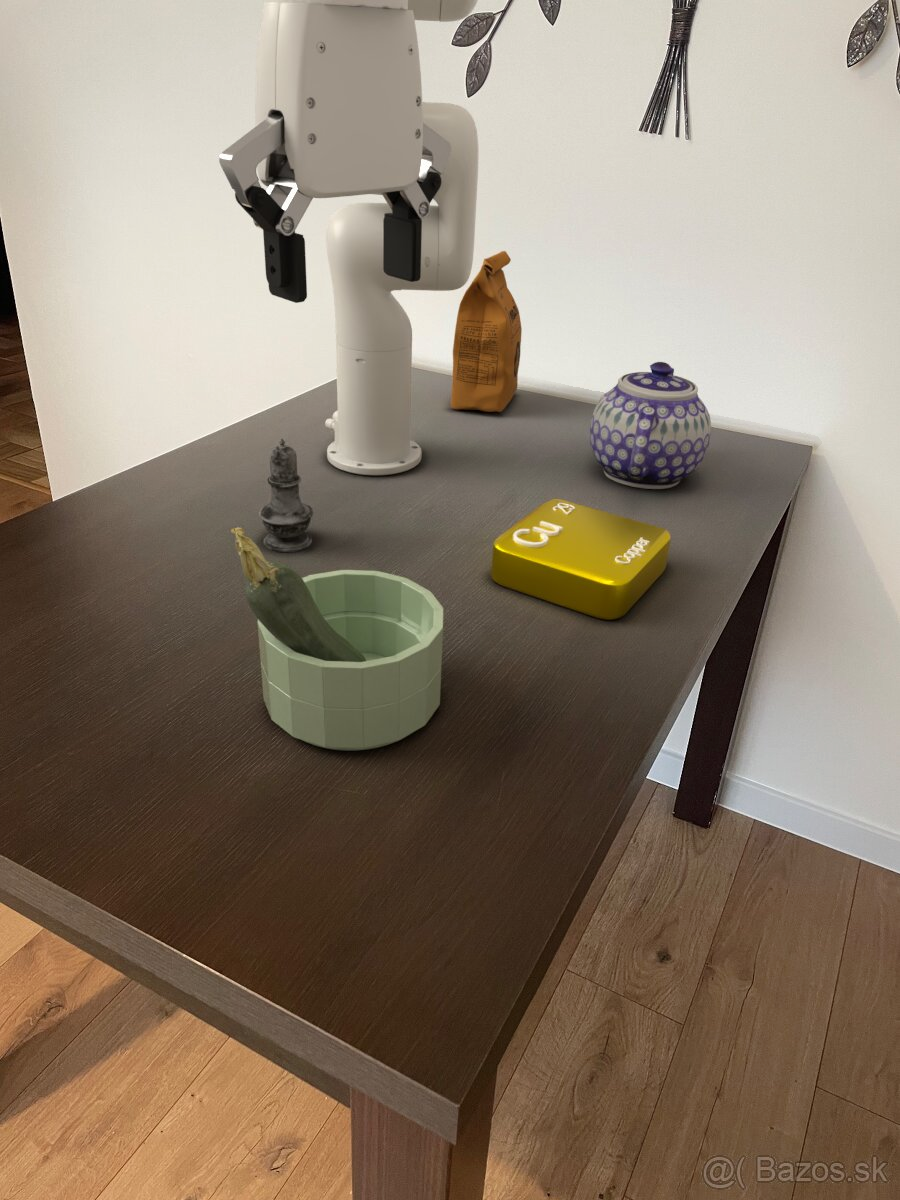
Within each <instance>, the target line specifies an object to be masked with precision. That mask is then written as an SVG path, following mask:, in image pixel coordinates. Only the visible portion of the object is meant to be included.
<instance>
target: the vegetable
mask: <svg viewBox="0 0 900 1200" xmlns="http://www.w3.org/2000/svg"><path fill="white" fill-rule="evenodd" d="M230 532H231V533H232V534H234V536H235V537H234V539H235V542H234V543H235V544H234V545H235V546H234V549H235V551H237V555H238V556H240V565H241V568H242V570H243V573H244V576H245V578H246V580H245V583H244V594H245V598H246V602H247V603H248V606H249V608H250V610H251V612H252V614H254V616H255V618H256V619H257V621H258V620H259V621H260V622H261V623H262V624H263V625H264V627H265V628H266V629H267V630H268V631H269V632H270V633H271V634H272V635H273V636H274V637H276V638H277V639H278V640H279V641H280V642H282V643H283V644H285V645H286V646H288V647H289V648H290V649H292V650H293V651H295V652H297V653H300V654H304V655H307V656H311V657H314V658H318V659H321V660H325V661H345V662H364V661H366V659H365V657H364V656H363V655H362V654H361V653H360V652H359V651H358V650H357V649H355V648H354V647H353V646H352V645H351V644H350V643H349V642H348V641H347V640H346V639H344V638H343V637H342V636H340V635H339V634H338V633H337V632H336V631H335V630H334V629H333V628H332V627H331V626H330V625H329V624H328V623H327V621H326V620H325V619H324V617H323V616H322V615H321V613H320V611H319V609H318V607H317V605H316V604H315V602H314V600H313V598H312V595H311V593H310V591H309V589H308V587H307V586H306V584H305V582H304V581H303V579H302V578H303V577H301V575H300V574H299V573H298V572H296V570H294V569H292V568H291V567H290V566H288V565H285V564H284V563H282V562H279V561H267V560H266V558H265V557H264V555H263V553H262V552H261V550H260V548H259V547H258V545H257V544H256V543H255V542H254V541H253V540H252V538H250V537H248V536H246V535H245V534H246V533H245V531H244V529H243V528H242V527H241V526H237V527H233V528H231V530H230Z"/></svg>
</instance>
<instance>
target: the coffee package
mask: <svg viewBox="0 0 900 1200" xmlns="http://www.w3.org/2000/svg"><path fill="white" fill-rule="evenodd" d="M511 260H512V259H511V257H510V256H509V254H508V253H507V251H506V250H502V251H500V252H498V253H495V254H493V255H491V256H489V257H486V258H483V262H482V265H481V267H480V270H479V271H478V273H477V275H476V276H475V277H474V278H473V280H472V282H471V283H470V285H469V286H468V287H467V289H466V290H465V292H464V294H463V296H462V298H461V300H460V302H459V306H458V310H457V316H456V323H455V328H454V329H455V330H454V337H453V345H452V383H451V384H452V385H451V397H450V408H451V409H453V410H457V411H458V410H471V411H474V410H477V411H481V412H485V413H488V412H489V413H493V412H499V413H500V412H503V411H504V410H505V408H506V407H507V405H508V404H509V403H510V402H511V400H513V397H514V395H515V393H516V391H517V389H518V375H519V367H520V360H521V346H522V344H521V343H522V323H521V316H520V311H519V307H518V305H517V303H516V300H515V298H514V296H513V294H512V293H511V291H510V289H509V288H508V285H507V279H506V275H505V273H504V270H503V268H505V267H506V266H508V265H509V264H510V263H511Z"/></svg>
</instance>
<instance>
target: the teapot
mask: <svg viewBox="0 0 900 1200" xmlns="http://www.w3.org/2000/svg"><path fill="white" fill-rule="evenodd" d="M649 368H650V371H638V372H637V371H636V372H630V373H626V374H624V375H621V377H619V378H618V380H617V383H616V385H615V386H613V387H612V388H611V389H610V390H609V391H607V392H605V393H604V394H603V395H601V396H600V398H599V399H598V402H597V404H596V406H595V408H594V409H593V413H592V414H591V415H592V416H591V419H590V424H589V443H590V448H591V451H592V455H593V457H594V458H595V460H596V461H597V462H598V464H599V465H600V467H601V468H602V469H603V473H604V475H605V476H606V477H607V478H608V479H609V480H612V481H614V482H616V483H618V484H622V485H626V486H629V487H633V488H639V489H647V490H650V489H651V490H664V489H670V488H673V487H675V486H677V485H678V484H679V483H680V482H681V480H683V479H685V478H686V477H688V476H689V475H690V474H692V473H693V472H695V471H696V470H697V468H698V467H699V465H700V464H701V463H702V461H703V460H704V458H705V457H706V454H707V451H708V449H709V446H710V440H711V433H712V420H711V415H710V413H709V411H708V408H707V406H706V405H705V403H704V401H702V399H701V398H700V397H699V395H698V391H699V388H698V386H697V384H696V383H694V382H693V381H691V380H689V379H687V378H684V377H682V376H678V375H674V374H675V368H674V367H672V366H671V365H670V364H669V363H667V362H664V361H656V362H653V363H652V364H650V365H649Z"/></svg>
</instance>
